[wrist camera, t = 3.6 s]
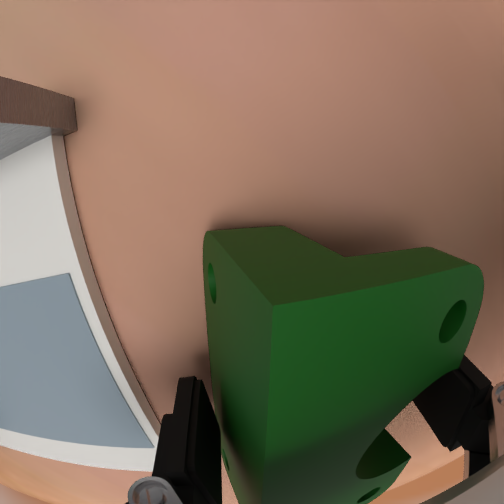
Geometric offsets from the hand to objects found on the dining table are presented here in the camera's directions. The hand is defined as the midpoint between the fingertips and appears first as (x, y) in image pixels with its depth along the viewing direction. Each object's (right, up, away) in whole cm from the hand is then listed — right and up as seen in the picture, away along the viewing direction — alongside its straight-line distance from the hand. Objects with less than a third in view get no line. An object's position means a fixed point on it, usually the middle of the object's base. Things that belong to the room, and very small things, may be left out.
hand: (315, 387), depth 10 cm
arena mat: (-15, 0, +1) cm, 15 cm away
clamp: (0, +1, +2) cm, 2 cm away
